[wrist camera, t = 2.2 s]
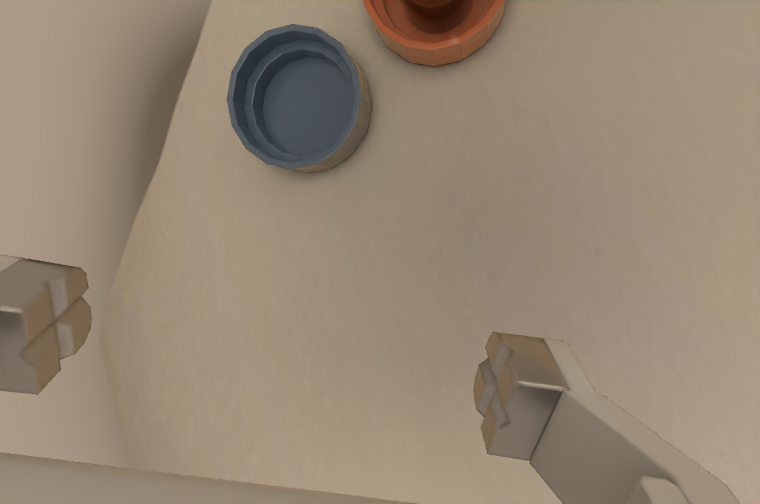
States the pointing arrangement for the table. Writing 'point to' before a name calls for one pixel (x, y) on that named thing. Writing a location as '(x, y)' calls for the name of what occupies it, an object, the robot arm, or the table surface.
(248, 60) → the bowl
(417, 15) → the sauce bottle
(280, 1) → the table surface
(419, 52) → the bowl
